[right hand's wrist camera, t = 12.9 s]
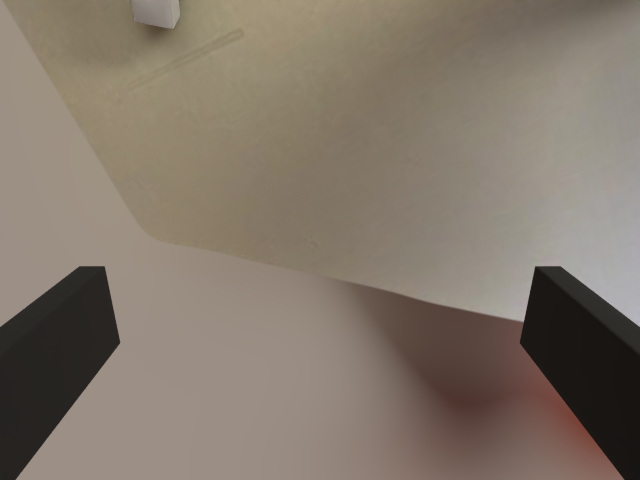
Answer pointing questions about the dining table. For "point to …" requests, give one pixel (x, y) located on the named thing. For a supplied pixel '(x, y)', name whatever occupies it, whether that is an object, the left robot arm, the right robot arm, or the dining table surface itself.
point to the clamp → (156, 12)
